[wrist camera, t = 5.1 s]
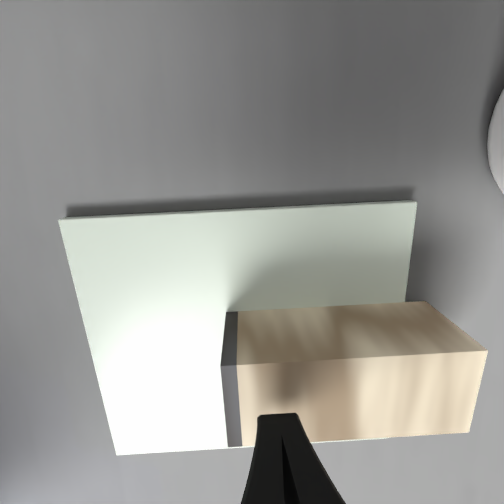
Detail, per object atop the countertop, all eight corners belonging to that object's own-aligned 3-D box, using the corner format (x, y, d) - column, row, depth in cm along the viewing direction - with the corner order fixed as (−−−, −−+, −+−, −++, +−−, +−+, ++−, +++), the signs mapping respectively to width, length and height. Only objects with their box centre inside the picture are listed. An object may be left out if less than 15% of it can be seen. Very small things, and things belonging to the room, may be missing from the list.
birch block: (227, 447, 12) (468, 432, 12) (220, 366, 11) (488, 350, 11) (231, 378, 16) (415, 367, 16) (226, 312, 15) (425, 301, 15)
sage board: (120, 445, 18) (116, 455, 17) (65, 217, 14) (57, 220, 13) (383, 429, 18) (387, 438, 18) (410, 200, 14) (417, 202, 13)
